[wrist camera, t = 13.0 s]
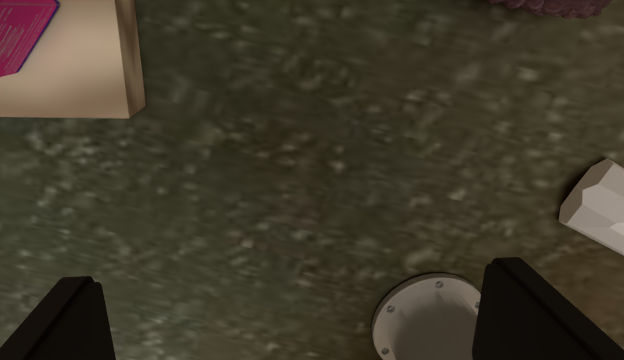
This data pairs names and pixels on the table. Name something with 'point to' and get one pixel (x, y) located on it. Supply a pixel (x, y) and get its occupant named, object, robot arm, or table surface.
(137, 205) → the table surface
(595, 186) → the white chamfered bar
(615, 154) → the table surface
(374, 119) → the table surface
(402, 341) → the robot arm
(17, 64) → the supplement box
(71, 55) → the birch plinth
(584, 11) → the purple hedgehog toy
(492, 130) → the table surface
